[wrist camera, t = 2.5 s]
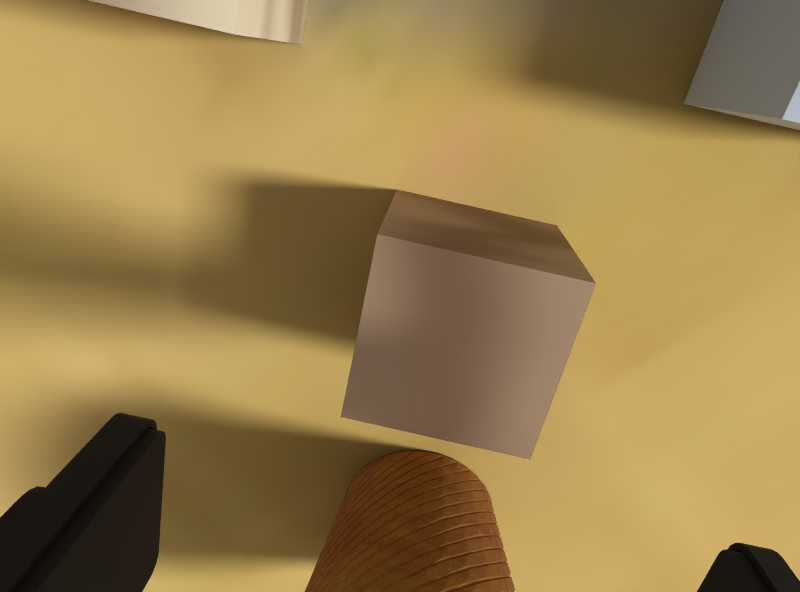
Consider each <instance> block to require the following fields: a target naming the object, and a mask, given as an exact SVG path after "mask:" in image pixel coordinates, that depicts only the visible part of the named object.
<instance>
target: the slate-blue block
mask: <svg viewBox="0 0 800 592" xmlns="http://www.w3.org/2000/svg"><path fill="white" fill-rule="evenodd" d="M684 104H687V105H691V106H696V107H700V108H704V109H709V110H713V111H717V112H722V113H726V114H731V115H735V116H739V117H744V118H748V119H752V120H757V121H761V122H766V123H770V124H774V125H779V126H783V127H787V128H792V129H796V130H800V0H724V1H723V4H722V7H721V9H720V12H719V14H718V17H717V19H716V22H715V25H714V27H713V30H712V32H711V35H710V37H709V40H708V42H707V45H706V48H705V50H704V53H703V55H702V58H701V60H700V63H699V65H698V68H697V71H696V73H695V76H694V78H693V81H692V83H691V86H690V89H689V91H688V94H687V96H686V99H685V101H684Z"/></svg>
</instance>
